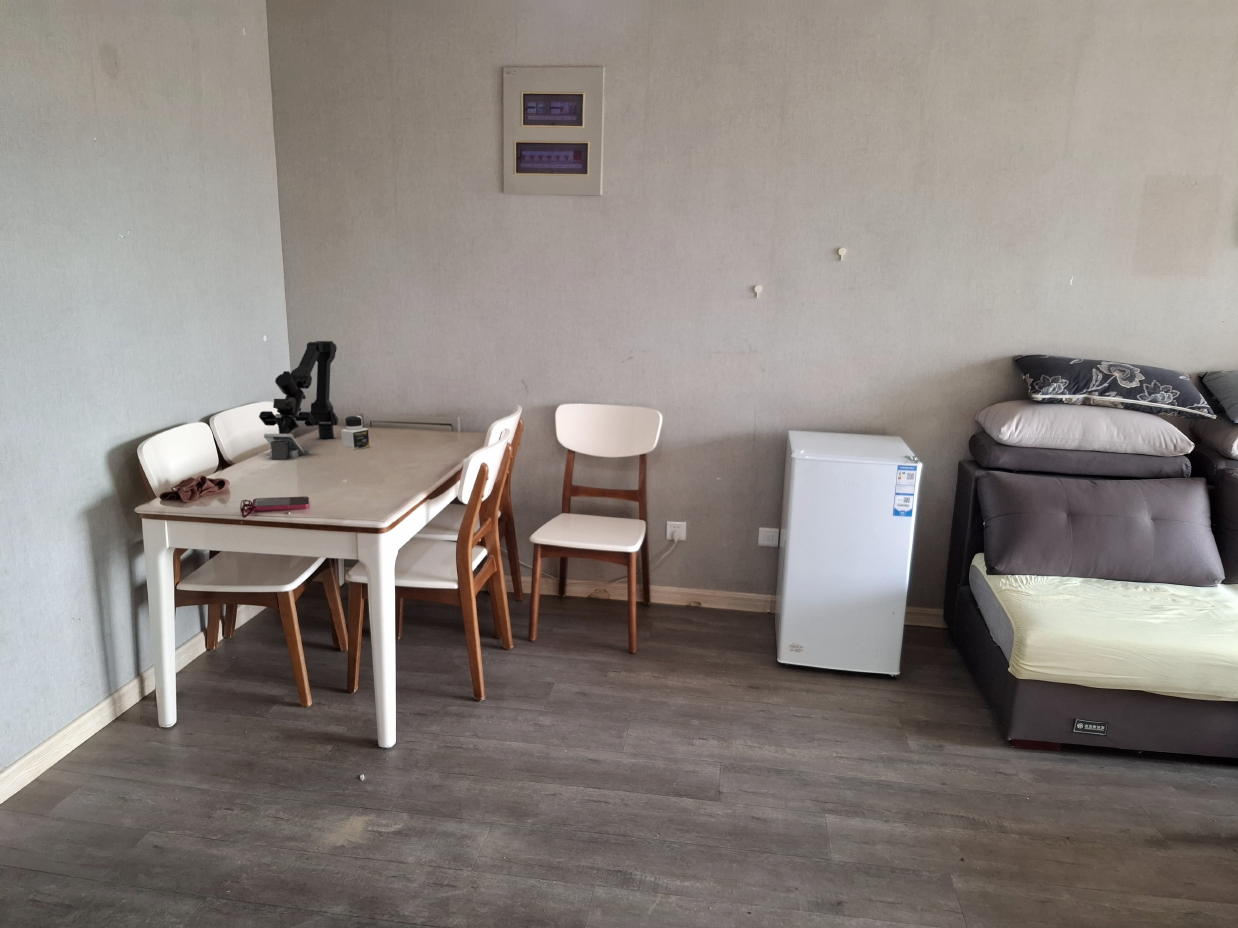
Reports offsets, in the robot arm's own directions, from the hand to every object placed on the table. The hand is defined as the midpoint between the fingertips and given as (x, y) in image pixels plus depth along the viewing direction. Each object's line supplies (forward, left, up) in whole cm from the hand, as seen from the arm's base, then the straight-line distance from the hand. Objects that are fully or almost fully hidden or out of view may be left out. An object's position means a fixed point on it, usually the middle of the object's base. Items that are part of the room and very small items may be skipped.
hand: (281, 438), depth 295 cm
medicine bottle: (-10, +27, -8) cm, 30 cm away
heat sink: (-2, +1, -7) cm, 8 cm away
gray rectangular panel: (-2, +1, -3) cm, 3 cm away
